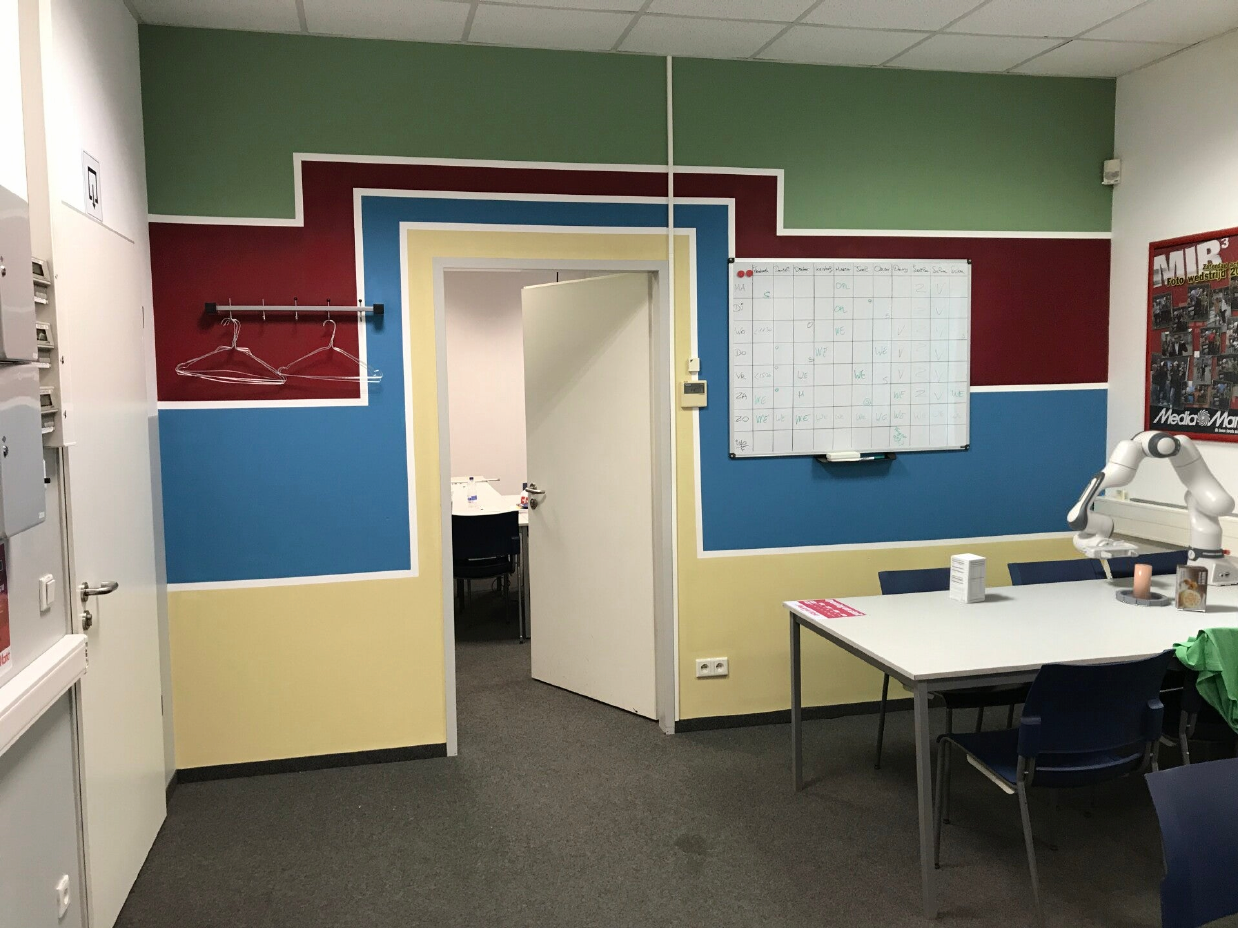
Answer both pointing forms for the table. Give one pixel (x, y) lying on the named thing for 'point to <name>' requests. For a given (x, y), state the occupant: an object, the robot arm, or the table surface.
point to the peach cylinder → (1142, 581)
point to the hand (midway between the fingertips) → (1123, 555)
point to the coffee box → (1191, 587)
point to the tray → (1155, 599)
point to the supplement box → (968, 578)
